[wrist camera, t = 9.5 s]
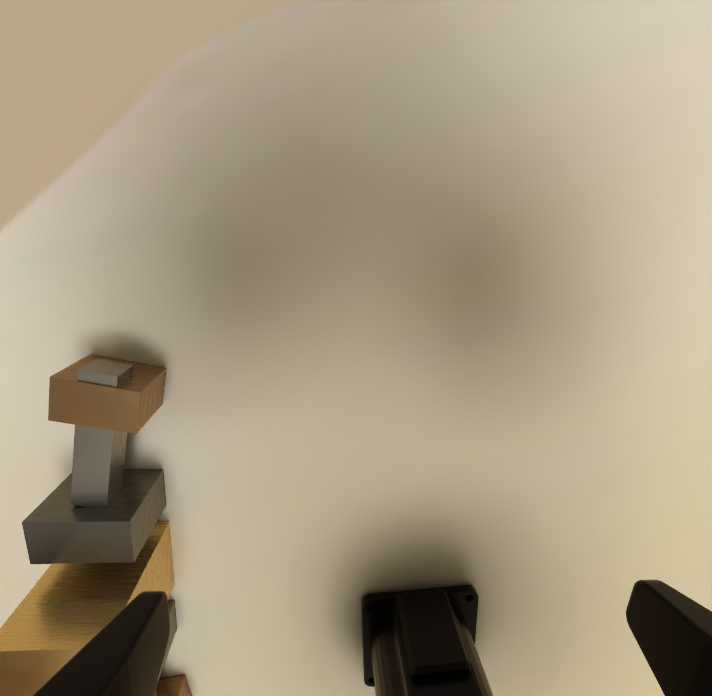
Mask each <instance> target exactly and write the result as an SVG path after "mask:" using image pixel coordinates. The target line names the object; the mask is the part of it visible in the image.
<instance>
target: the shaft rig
mask: <svg viewBox="0 0 712 696" xmlns="http://www.w3.org/2000/svg"><path fill="white" fill-rule="evenodd" d="M165 376H166V368H162V367H157V366H151V365H146V364H141V363H135V362H130V361H124V360H119V359H113V358H108V357H102V356H97V355H92V354H90V355H88V356H87V357H85V358H83V359H81V360H79V361H78V362H76V363H74V364H72V365H70V366H69V367H67V368H65V369H63V370H61V371H60V372H58V373H56V374H54V375H52V376H51V377H50V389H49V416H48V420H50V421H57V422H63V423H69V424H75V436H74V454H73V472H72V473H71V474H70V475H69V476H68V477H67V478H66V479H65V480H64V481H63V482H62V483H61V484H60V485H59V486H58V487H57V488H56V489H55V490H54V491H53V492H52V493H51V494H50V495H49V496H48V497H47V498H46V499H45V500H44V501H43V502H42V503H41V504H40V505H39V506H38V507H37V508H36V509H35V510H34V511H33V512H32V513H31V514H30V515H29V516H28V517H27V518H26V519H25V520H24V521H23V522H22V525H23V530H24V535H25V540H26V545H27V549H28V554H29V559H30V564H63V563H124V562H135V560H136V558H137V557H138V555H139V553H140V551H141V549H142V548H143V546H144V544H145V542H146V540H147V539H148V537H149V535H150V533H151V531H152V530H153V528H154V526H155V524H156V522H157V521H158V519H159V517H160V515H161V513H162V512H163V510H164V508H165V506H166V500H165V488H164V477H163V470H124V463H125V453H126V442H127V433H131V434H136V433H137V432H138V431H139V430H140V429H141V428H142V427H143V426H144V424H145V423H146V422H147V421H148V420H149V419H150V418H151V417H152V415H153V414H154V413H155V412H156V411H157V410H158V409H159V408H160V406H161V405H162V402H163V393H164V384H165ZM168 608H169V619H170V634H169V639H168V643H167V647H166V651H165V655H164V658H163V662H162V666H161V670H160V673H159V677H160V674H161V672H162V669H163V666H164V663H165V661H166V658H167V655H168V652H169V649H170V647H171V644H172V641H173V638H174V636H175V633H176V630H177V626H176V614H175V603H174V601H168ZM159 677H158V681H157V684H156V688H155V692H154V696H192V695H191V692H190V689H189V686H188V683H187V680H186V677H185V675H181V676H175V677H169V678H163V679H159Z"/></svg>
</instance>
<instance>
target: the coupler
mask: <svg viewBox="0 0 712 696" xmlns="http://www.w3.org/2000/svg"><path fill="white" fill-rule="evenodd" d="M173 587H174V574H173V561H172V549H171V536H170V524H169V522H156V524H155V526H154V528H153V530H152V531H151V533H150V535H149V537H148V539H147V540H146V542H145V544H144V546H143V548H142V549H141V551H140V553H139V555H138V557H137V558H136V560H135V562H124V563H63V564H51V566H50V567H49V568H48V569H47V571H46V572H45V573H44V574H43V576H42V577H41V578H40V579H39V581H38V582H37V583H36V584H35V586H34V587H33V588H32V589H31V591H30V592H29V593H28V594H27V596H26V597H25V598H24V599H23V601H22V602H21V603H20V604H19V606H18V607H17V608H16V609H15V611H14V612H13V613H12V614H11V616H10V617H9V618H8V619H7V621H6V622H5V623H4V624H3V626H2V627H1V628H0V696H32V695H33V694H34V693H35V692H36V691H38V690H39V689H40V688H41V687H42V686H43V685H44V684H45V683H46V682H47V681H48V680H49V679H50V678H51V677H52V676H53V675H54V674H55V673H56V672H57V671H59V670H60V669H61V668H62V667H63V666H64V665H65V664H66V663H67V662H68V661H69V660H70V659H71V658H72V657H73V656H74V655H75V654H76V653H77V652H78V651H79V650H81V649H82V648H83V647H84V646H85V645H86V644H87V643H88V642H89V641H90V640H91V639H92V638H93V637H94V636H95V635H96V634H97V633H98V632H99V631H100V630H102V629H103V628H104V627H105V626H106V625H107V624H108V623H109V622H110V621H111V620H112V619H113V618H114V617H115V616H116V615H117V614H118V613H119V612H120V611H121V610H123V609H124V608H125V607H126V606H127V605H128V604H129V603H130V602H131V601H132V600H133V599H134V598H135V597H136V596H137V595H138V594H140V593H142V592H144V591H164V592H166V594H167V598H168V599H169V597H170V594H171V592H172V589H173Z"/></svg>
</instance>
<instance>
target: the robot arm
mask: <svg viewBox="0 0 712 696" xmlns="http://www.w3.org/2000/svg"><path fill="white" fill-rule="evenodd" d="M369 604H371V605H369ZM477 606H478V594H477V592H476V590H475V588H474V587H473V586H471V585H462V586H452V587H441V588H430V589H420V590H409V591H398V592H387V593H377V594H369V595H366V596H364V597H363V598H362V601H361V610H362V639H363V667H364V682H365V684H366V685H367V686H372V687H374V686H375V691H376V696H493V694H492V691H491V688H490V686H489V683H488V680H487V677H486V675H485V672H484V669H483V667H482V664H481V661H480V658H479V656H478V653H477V650H476V647H475V634H476V620H477ZM626 618H627V622H628V625H629V627H630V629H631V631H632V633H633V635H634V637H635V639H636V641H637V642H638V644H639V646H640V648H641V650H642V652H643V654H644V656H645V658H646V660H647V662H648V664H649V666H650V668H651V670H652V671H653V673H654V675H655V677H656V679H657V681H658V683H659V685H660V687H661V689H662V691H663V693H664V695H665V696H712V611H710V610H708V609H707V608H705V607H703V606H702V605H700V604H698V603H697V602H695V601H693V600H692V599H690V598H688V597H687V596H685V595H683V594H682V593H680V592H678V591H677V590H675V589H673V588H672V587H670V586H668V585H667V584H665V583H663V582H662V581H659V580H639V581H637V582H636V583H635V584H634V587H633V590H632V593H631V596H630V600H629V603H628V606H627V610H626ZM169 634H170V619H169V608H168V598H167V594H166V592H164V591H144V592H142V593H140V594H138V595H137V596H136V597H135V598H134V599H133V600H132V601H131V602H130V603H129V604H128V605H127V606H126V607H125V608H124V609H123V610H121V611H120V612H119V613H118V614H117V615H116V616H115V617H114V618H113V619H112V620H111V621H110V622H109V623H108V624H107V625H106V626H105V627H104V628H103V629H102V630H100V631H99V632H98V633H97V634H96V635H95V636H94V637H93V638H92V639H91V640H90V641H89V642H88V643H87V644H86V645H85V646H84V647H83V648H82V649H81V650H79V651H78V652H77V653H76V654H75V655H74V656H73V657H72V658H71V659H70V660H69V661H68V662H67V663H66V664H65V665H64V666H63V667H62V668H61V669H60V670H59V671H57V672H56V673H55V674H54V675H53V676H52V677H51V678H50V679H49V680H48V681H47V682H46V683H45V684H44V685H43V686H42V687H41V688H40V689H39V690H38V691H36V692H35V693H34V694H33V695H32V696H154V692H155V688H156V684H157V681H158V677H159V673H160V670H161V666H162V662H163V658H164V655H165V651H166V647H167V643H168V639H169Z"/></svg>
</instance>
